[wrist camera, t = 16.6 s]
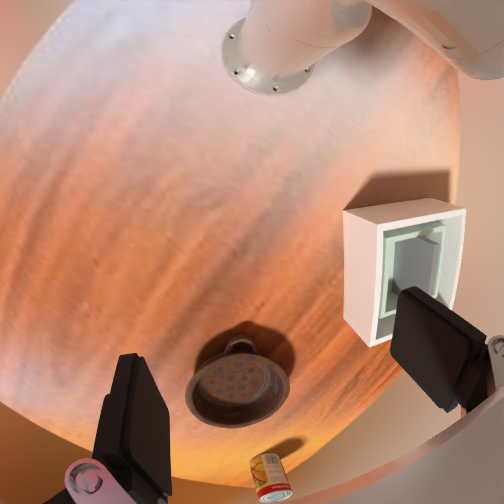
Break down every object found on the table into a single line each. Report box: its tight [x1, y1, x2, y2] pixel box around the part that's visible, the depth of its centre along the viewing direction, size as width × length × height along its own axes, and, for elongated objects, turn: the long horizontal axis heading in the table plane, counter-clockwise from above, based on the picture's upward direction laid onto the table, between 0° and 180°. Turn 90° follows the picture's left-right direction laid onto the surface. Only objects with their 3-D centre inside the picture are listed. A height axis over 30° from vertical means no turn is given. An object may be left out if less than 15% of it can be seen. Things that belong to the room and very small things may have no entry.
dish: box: [185, 334, 290, 428], centre depth 45 cm, size 18×22×5 cm
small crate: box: [378, 221, 446, 319], centre depth 40 cm, size 13×13×10 cm
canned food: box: [249, 453, 292, 503], centre depth 54 cm, size 8×8×12 cm
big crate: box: [343, 198, 466, 347], centre depth 42 cm, size 19×19×9 cm
